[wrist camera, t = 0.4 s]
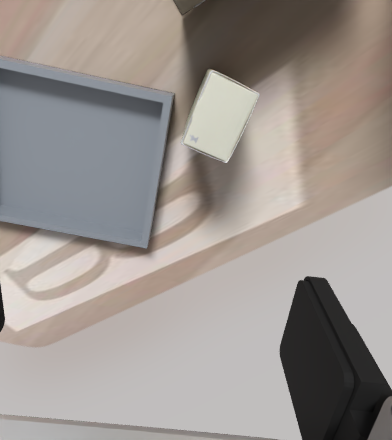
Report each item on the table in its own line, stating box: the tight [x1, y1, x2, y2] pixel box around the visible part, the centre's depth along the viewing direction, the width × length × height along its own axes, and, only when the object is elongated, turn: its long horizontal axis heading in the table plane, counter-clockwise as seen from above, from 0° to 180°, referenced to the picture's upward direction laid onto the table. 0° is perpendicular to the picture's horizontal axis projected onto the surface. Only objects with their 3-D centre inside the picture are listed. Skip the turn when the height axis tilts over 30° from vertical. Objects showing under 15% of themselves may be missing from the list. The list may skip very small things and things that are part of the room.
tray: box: [0, 56, 175, 248], centre depth 41 cm, size 18×20×3 cm
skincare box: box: [181, 69, 260, 163], centre depth 34 cm, size 6×4×12 cm
